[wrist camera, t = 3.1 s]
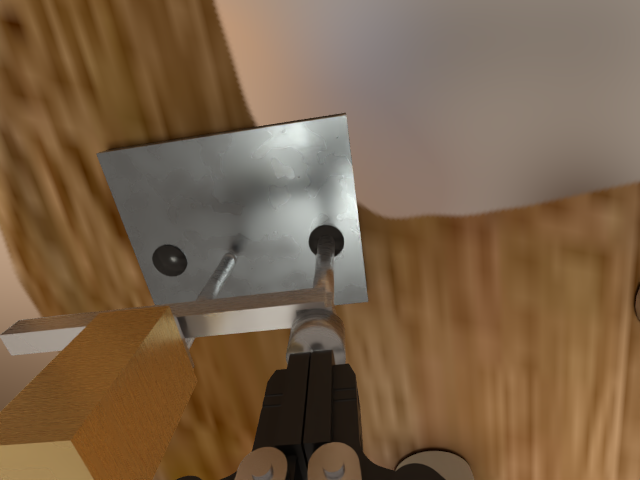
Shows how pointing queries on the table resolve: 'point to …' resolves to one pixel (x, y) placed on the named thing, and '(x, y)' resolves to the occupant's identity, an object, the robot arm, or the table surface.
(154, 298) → the bolt plate
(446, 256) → the table surface
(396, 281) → the table surface
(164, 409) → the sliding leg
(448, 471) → the travel mug
